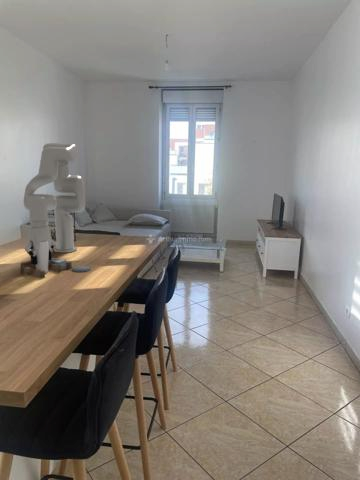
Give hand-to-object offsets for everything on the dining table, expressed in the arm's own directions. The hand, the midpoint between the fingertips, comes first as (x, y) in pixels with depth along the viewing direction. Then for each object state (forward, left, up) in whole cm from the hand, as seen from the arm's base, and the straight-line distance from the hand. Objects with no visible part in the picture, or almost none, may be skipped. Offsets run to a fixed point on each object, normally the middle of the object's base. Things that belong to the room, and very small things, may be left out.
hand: (41, 261), depth 161 cm
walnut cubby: (0, +3, -5) cm, 6 cm away
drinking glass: (0, 0, -5) cm, 5 cm away
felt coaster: (+12, +13, -5) cm, 18 cm away
